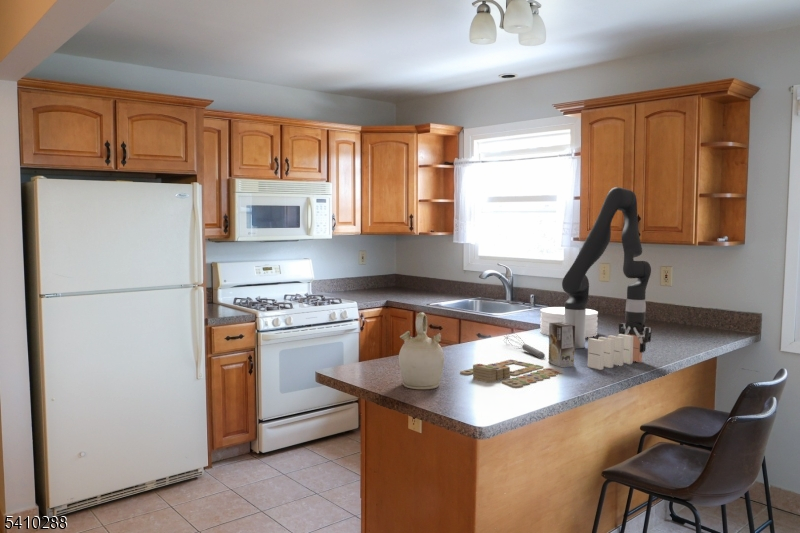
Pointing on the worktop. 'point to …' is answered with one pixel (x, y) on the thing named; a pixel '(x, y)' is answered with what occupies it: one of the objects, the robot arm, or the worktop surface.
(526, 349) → the kitchen whisk
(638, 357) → the rust tile
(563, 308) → the plate stack
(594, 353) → the ivory tile
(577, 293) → the robot arm
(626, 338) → the ivory tile
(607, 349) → the ivory tile
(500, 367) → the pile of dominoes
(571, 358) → the coffee box
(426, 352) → the jug
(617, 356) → the ivory tile
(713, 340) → the worktop surface
